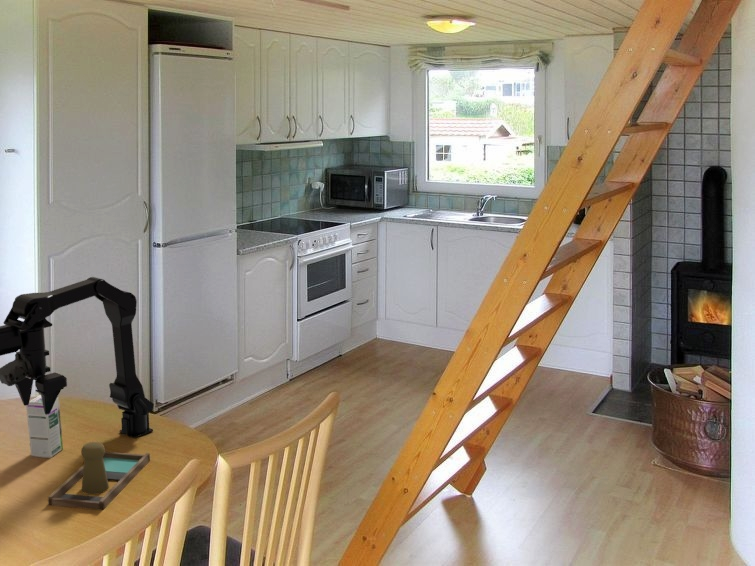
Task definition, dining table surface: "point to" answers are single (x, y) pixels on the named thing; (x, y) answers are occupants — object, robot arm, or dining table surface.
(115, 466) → the pad
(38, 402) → the syrup box
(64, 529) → the dining table surface
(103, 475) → the cork
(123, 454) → the channel
